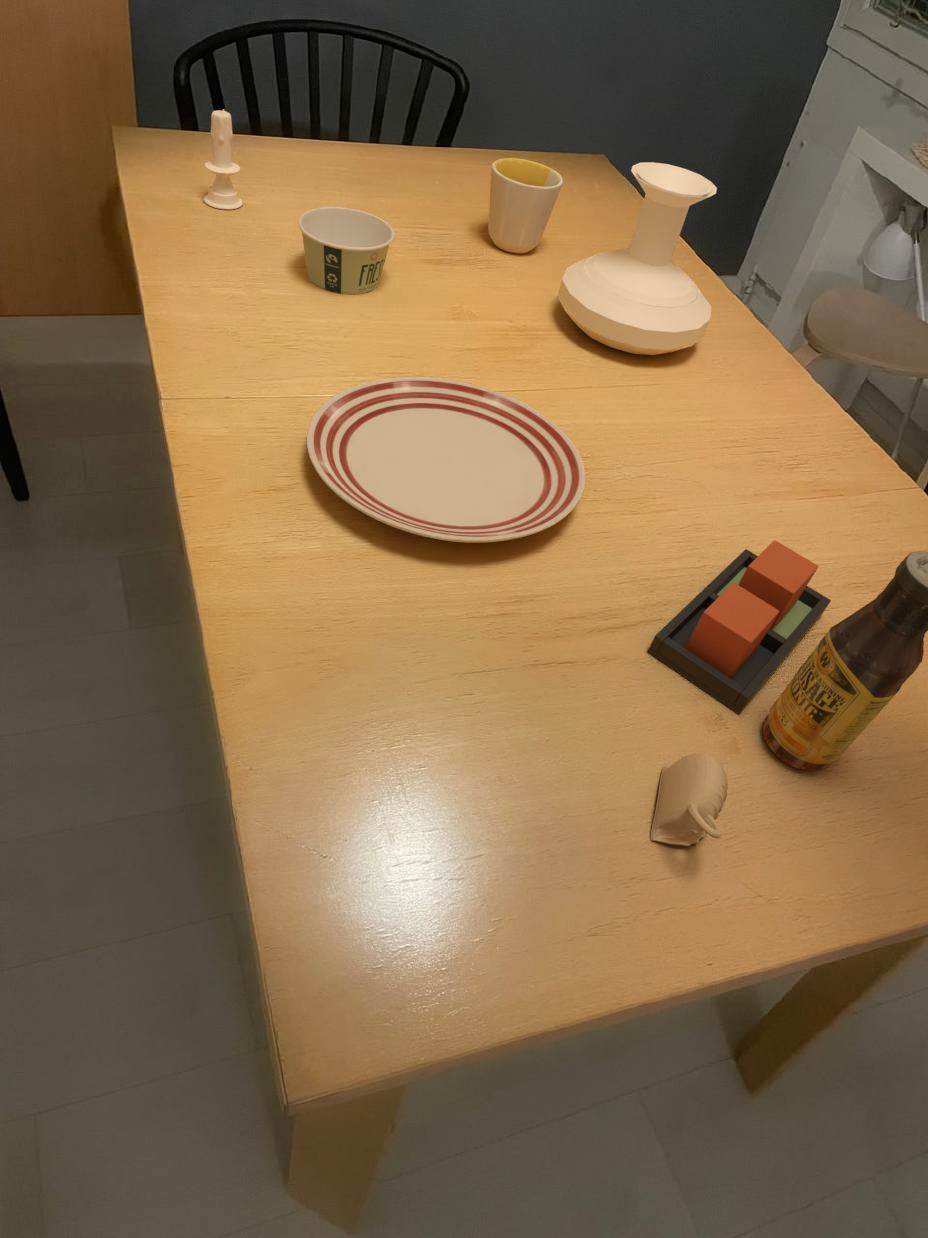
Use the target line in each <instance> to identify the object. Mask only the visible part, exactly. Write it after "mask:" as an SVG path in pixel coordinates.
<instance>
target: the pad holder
mask: <svg viewBox="0 0 928 1238" xmlns="http://www.w3.org/2000/svg"><path fill="white" fill-rule="evenodd" d="M758 556H759V555H757V554H756V553H753V552H752V551H750V550H749V549H747V548H745V549H744V550H743V551H742V552H741V553H740V554H739V555H738V556H737V557H736V558H735V559H734V560H733V561H731V562H730V563H729V564H728V565H727V566H726V567H725V568H724V569H723V570H721V572H720V573H719V574H718V575H717V576H716V577H715V578H714V579H713V580H712V581H710V583H708V584H707V585H706V586H705V587H704V588H703V589H702V590H701V591H700V592H699V593H698V594H696V596H695V597H694V598H693V599H692V600H691V601H689V603H688V604H686V605H685V606H684V607H683V608H682V609H681V610H680V611H679V612H678V613H677V614H676V615H675V616H674V617H673V618H672V619H671V620H670V621H669V622H667V624H666V625H665V626H663V627H662V628H661V629H660V630H659V631H658V632H657V633H656V634H655V635H654V637H653V639H652V641H651V643H650V645H649V647H648V649H647V653H648V654H649V655H651V656H652V657H654V658H655V659H657V660H658V661H659V662H661V663H663V664H664V665H666V666H667V667H668V668H670V669H672V670H673V671H674V672H676V673H677V674H678V675H680V676H682V677H683V678H684V679H685V680H688V681H689V683H692V684H694V685H695V686H696V687H698V688H699V689H700V690H702V691H704V692H705V693H706V694H708V695H709V696H711V697H712V698H714V699H715V700H716V701H718V702H720V703H721V704H722V705H724V706H725V707H727V708H728V709H730V710H731V711H733V712H734V713H736V714H737V715H740V714H741V713H742V712H743V711H744V710H745V708H746V707H747V706H748V705H749V704H750V702H752V700H753V699H754V697H755V696H756V695H757V694H758V693H759V692H760V690H761V689H762V688H763V687H764V685H765V684H766V683H767V682H768V681H769V679H771V678H772V676H773V674H775V672H776V671H777V670H778V668H779V667H780V666H781V665H782V664H783V663H784V661H785V660H786V659H787V658H788V656H789V655H790V654H791V653H792V651H793V650H794V649H795V648H796V647H797V645H799V643H800V642H801V641H802V640H803V638H804V637H805V636H806V635H807V633H809V631H810V630H811V629H812V628H813V627H814V625H815V624H816V623H817V622H818V621H819V619H820V618H821V617H822V615H823V614H824V612H825V611H826V610H827V608H828V607H829V604H830V603H831V601H832V600H831V599H830V598H828V597H826V596H825V595H823V594H821V593H820V592H819V591H816V590H815V589H814V588H812V587H811V586H808V585H807V586H806V588H805V589H804V591H803V592H802V594H801V596H800V597H799V599H798V600H797V602H796V604H795V605H794V606H793V607H792V609H791V610H790V611H789V612H788V613H787V614H786V615H785V617H784V618H783V619H782V620H781V621H780V622H779V623H778V624H777V626H776V627H775V628H774V629H773V630H772V629H770V628H769V630H768V631H767V633H766V635H765V636H764V638H763V640H762V641H761V643H760V644H759V646H758V648H757V649H756V651H755V652H754V653H753V654H752V655H751V656H750V658H749V659H748V660H747V661H746V662H745V663H744V664H743V666H742V667H741V668H740V669H739V670H738V671H737V672H736V673H735V675H734V676H733V677H732V678H731V679H730V678H728V677H727V676H726V675H724V674H723V673H721V672H720V671H718V670H717V669H715V668H714V667H712V666H711V665H709V664H708V663H706V662H705V661H703V660H702V659H700V658H699V657H697V656H696V655H694V654H693V653H691V652H690V651H688V650H687V649H685V647H686V645H687V643H688V641H689V639H690V637H691V635H692V633H693V631H694V629H695V627H696V625H697V624H698V622H699V620H700V618H701V616H702V614H703V612H704V611H705V610H706V609H707V608H708V607H709V606H710V605H711V604H712V603H713V602H714V601H715V600H716V599H717V598H718V597H719V596H720V595H721V594H722V593H723V592H724V591H725V590H726V589H727V588H728V587H729V586H730V585H731V584H732V583H736V584H737V585H738V584H739V582H740V580H741V578H742V577H743V575H744V573H745V571H746V569H747V567H748V566H749V565H750V564H751V563H752V562H753V561H754V560H755V559H756V558H757V557H758Z"/></svg>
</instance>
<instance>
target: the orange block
mask: <svg viewBox="0 0 928 1238" xmlns="http://www.w3.org/2000/svg"><path fill="white" fill-rule="evenodd" d="M757 556H758V557H757V558H756V559H755V560H754V561H753V562H752V563H751V564H750V565H749V566H748V567H747V569H746V571H745V573H744V575H743V577H742V578H741V580H740V582H739V584H738V585H739V586H740V587H742V588H744V589H745V590H747V591H748V592H750V593H752V594H753V595H755V596H756V597H758V598H760V599H761V600H763V601H764V602H766V603H768V604H769V605H771V606H772V607H774V608H776V609H777V610H779V613H778V615H777V617H776V618H775V620H774V622H773V623H772V625H771V626H770V629H772V630H773V629H774V628H775V627H776V626H777V624H778V623H779V622H780V621H781V620H782V619H783V618H784V617H785V615H786V614H787V613H788V612H789V611H790V610H791V609H792V607H793V606H794V605H795V604H796V602H797V600H798V599H799V597H800V596H801V594H802V592H803V591H804V589H805V588H806V586H808V584H809V583H810V581H811V580H812V578H813V576H814V575H815V573H816V571H817V570H818V568H819V565H818V564H817V563H815V562H813V561H811V560H809V559H808V558H807V557H805V556H803V555H801V554H799V553H797V552H796V551H794V550H793V549H791V548H789V547H788V546H786V545H784V544H782V543H781V542H779V541H778V540H777V539H774V540H772V542H770V543H769V545H768V546H766V548H764V550H763V551H761V553H759V554H758V555H757Z"/></svg>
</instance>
